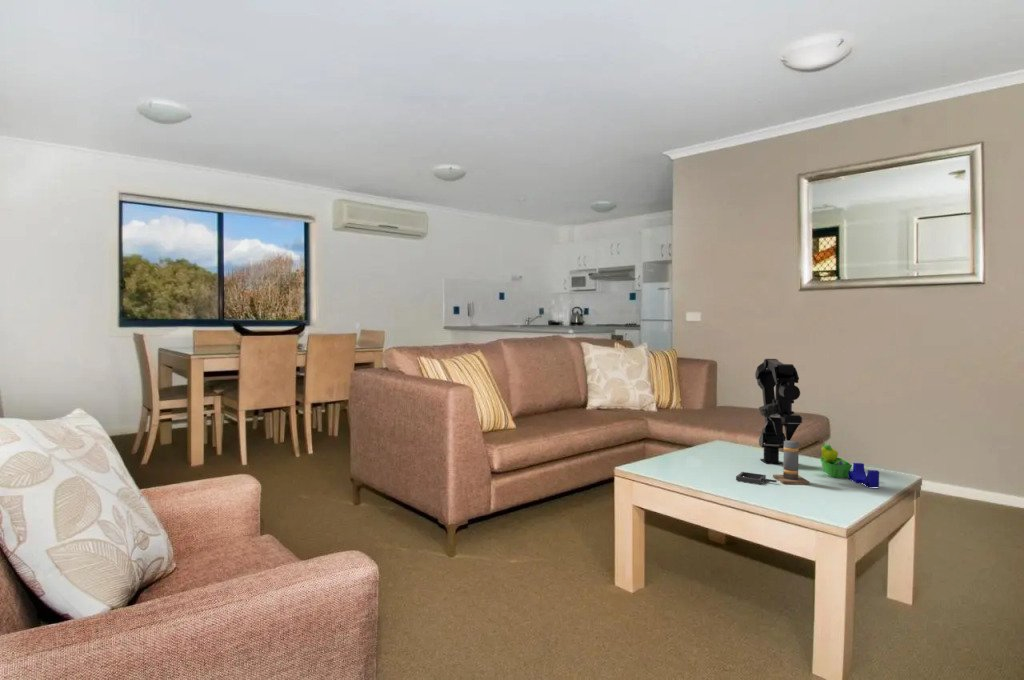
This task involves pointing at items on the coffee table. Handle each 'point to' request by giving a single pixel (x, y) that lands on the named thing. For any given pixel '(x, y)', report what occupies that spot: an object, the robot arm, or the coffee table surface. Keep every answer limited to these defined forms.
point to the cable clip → (864, 475)
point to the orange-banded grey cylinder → (791, 460)
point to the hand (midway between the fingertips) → (783, 438)
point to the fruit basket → (834, 462)
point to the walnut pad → (788, 481)
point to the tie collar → (758, 480)
